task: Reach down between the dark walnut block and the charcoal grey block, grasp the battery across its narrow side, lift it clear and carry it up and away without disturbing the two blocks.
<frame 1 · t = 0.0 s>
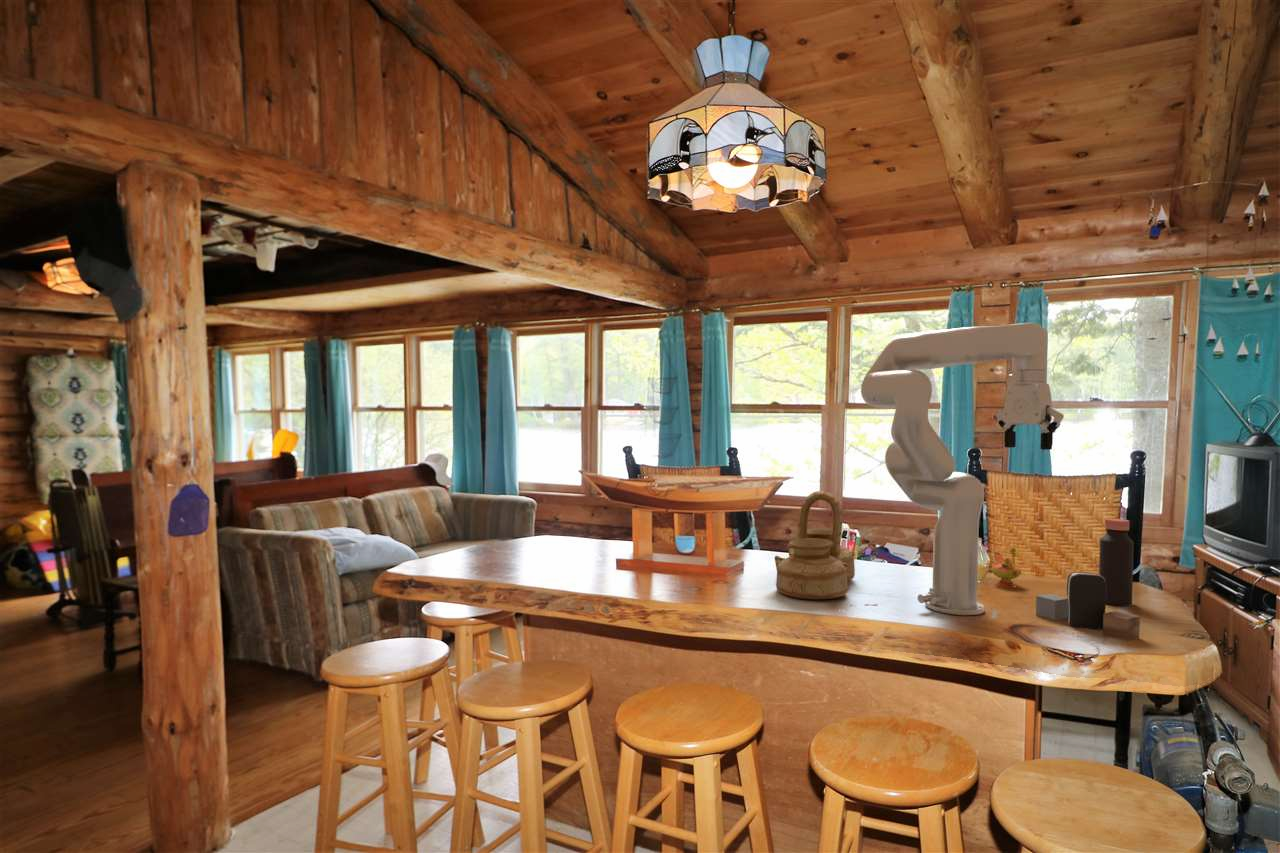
hand: (1027, 448, 176), 37 cm above the worktop, tool pointing down, fingers open, 9 cm apart
grey block: (1051, 617, 161), on the worktop
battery: (1084, 626, 154), on the worktop
bottle: (1115, 603, 173), on the worktop
flower arrangement: (1004, 584, 191), on the worktop
walnut block: (1121, 636, 147), on the worktop
ceramic vessel: (815, 587, 187), on the worktop
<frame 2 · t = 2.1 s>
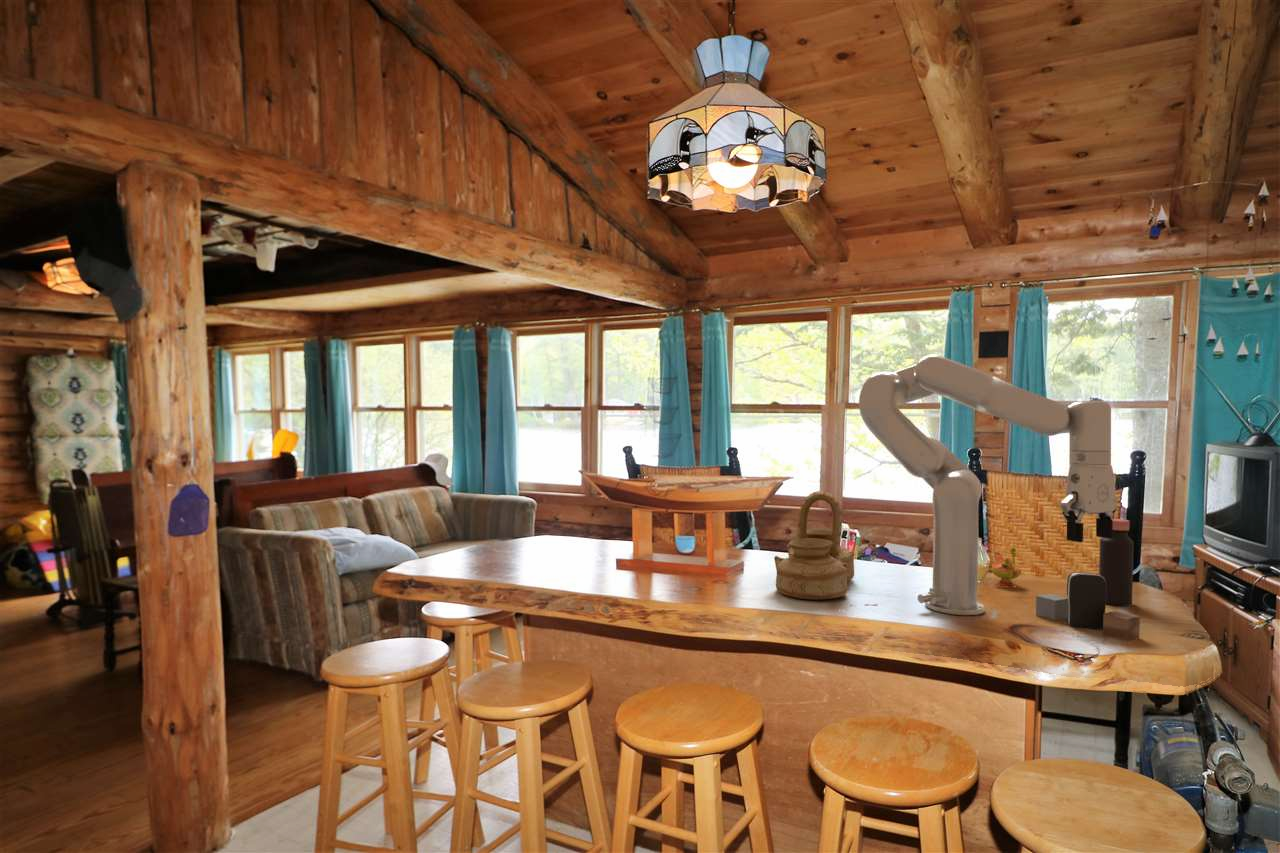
hand: (1089, 539, 153), 19 cm above the worktop, tool pointing down, fingers open, 9 cm apart
nothing on the worktop moved.
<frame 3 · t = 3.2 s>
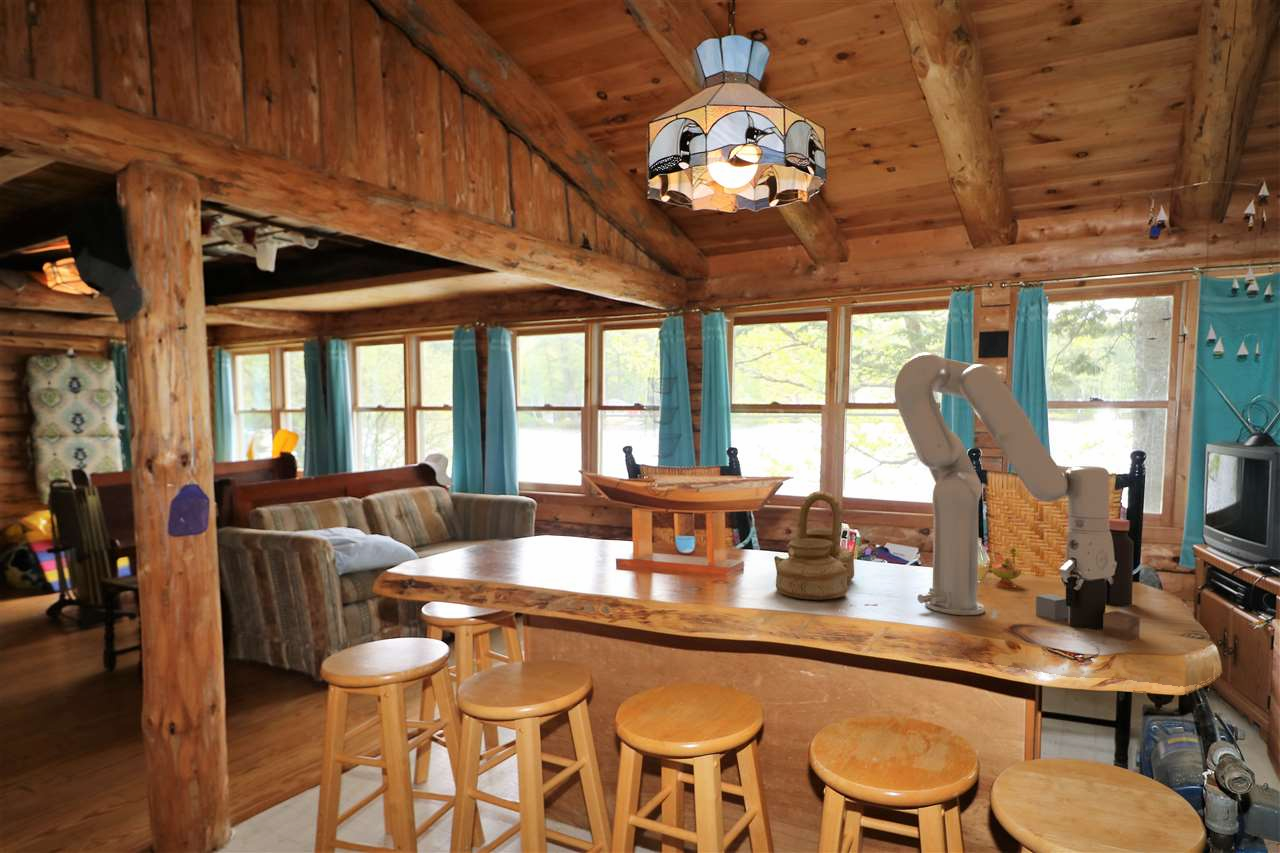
hand: (1088, 604, 154), 5 cm above the worktop, tool pointing down, fingers open, 9 cm apart
nothing on the worktop moved.
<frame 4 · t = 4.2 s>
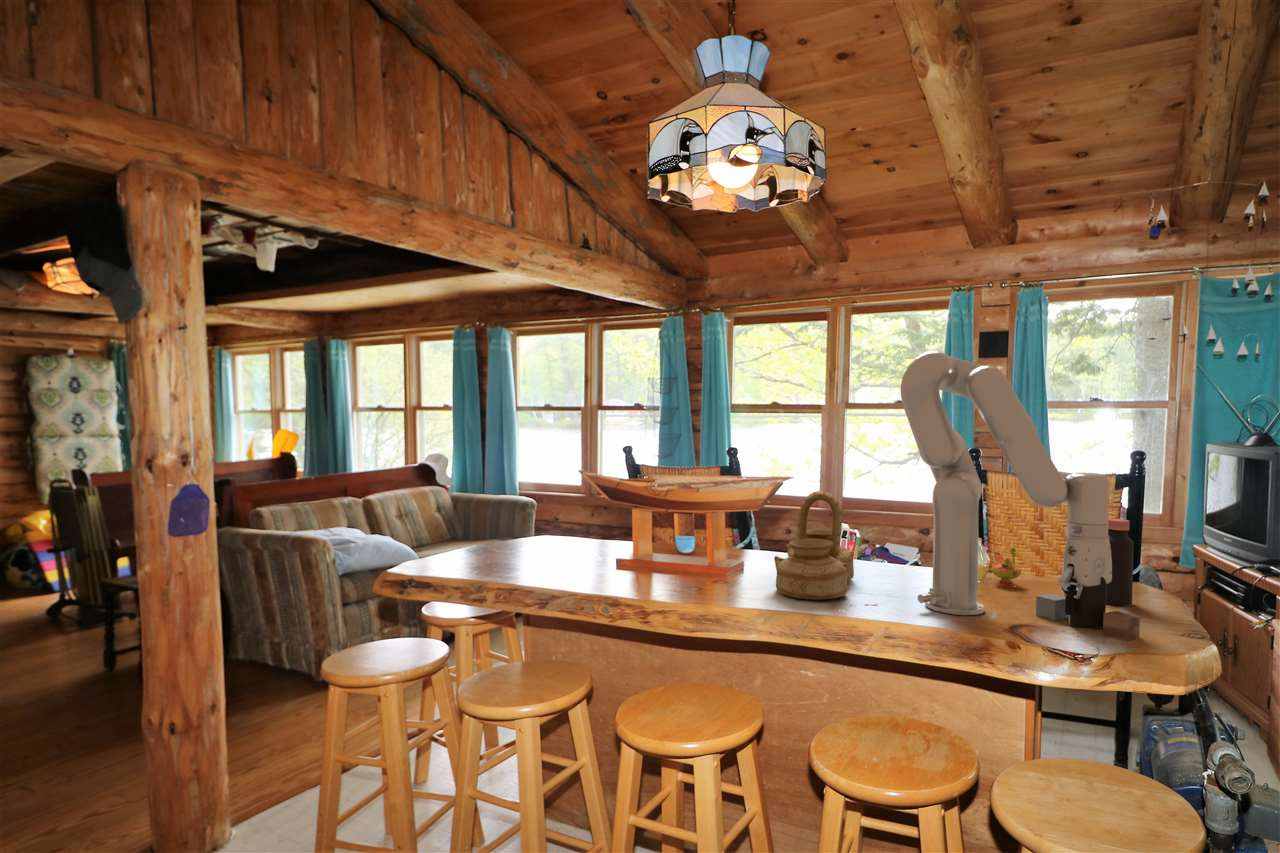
hand: (1084, 613, 154), 3 cm above the worktop, tool pointing down, fingers closed on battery, 6 cm apart
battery: (1085, 626, 154), on the worktop, touching gripper
everything else where it was.
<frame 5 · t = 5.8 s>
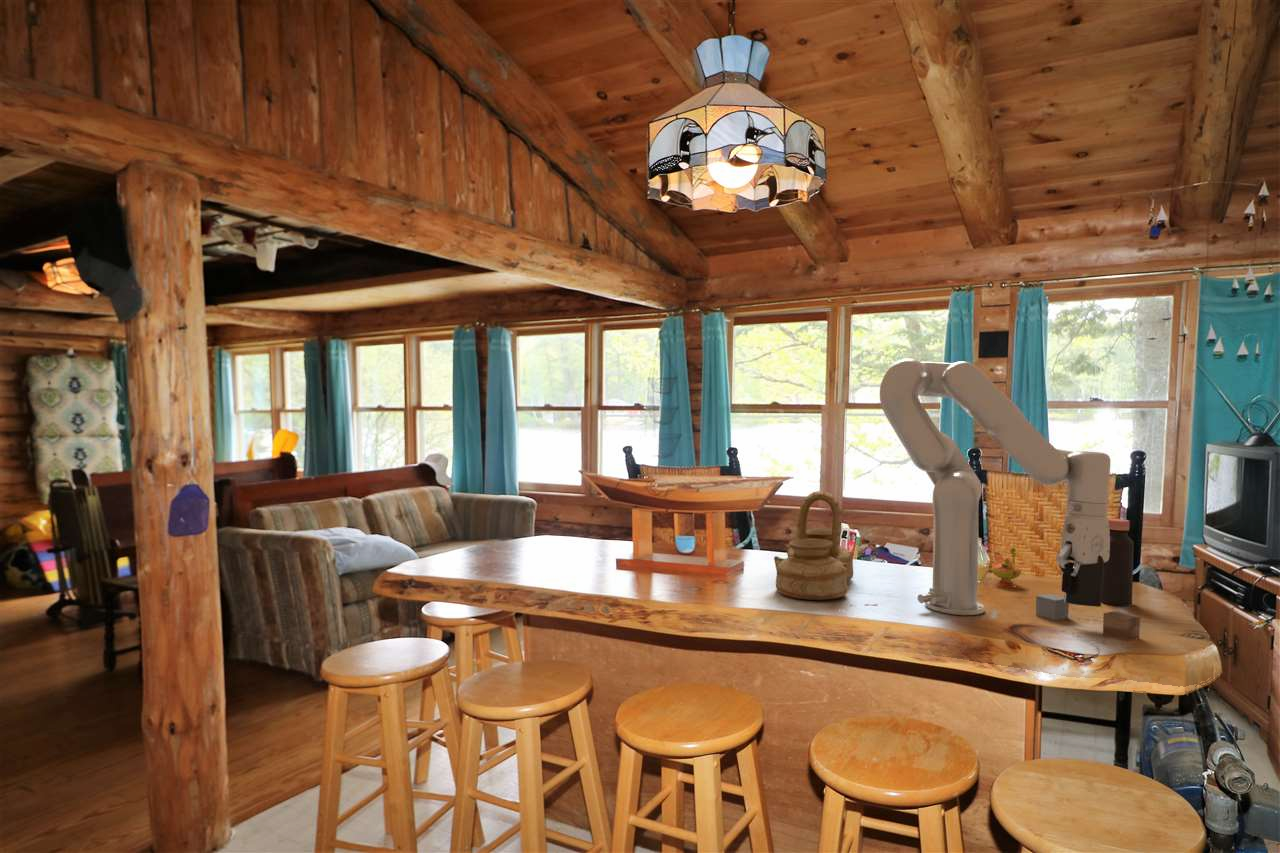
hand: (1081, 591, 154), 7 cm above the worktop, tool pointing down, fingers closed on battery, 6 cm apart
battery: (1081, 604, 154), point 4 cm above the worktop, touching gripper
everything else where it was.
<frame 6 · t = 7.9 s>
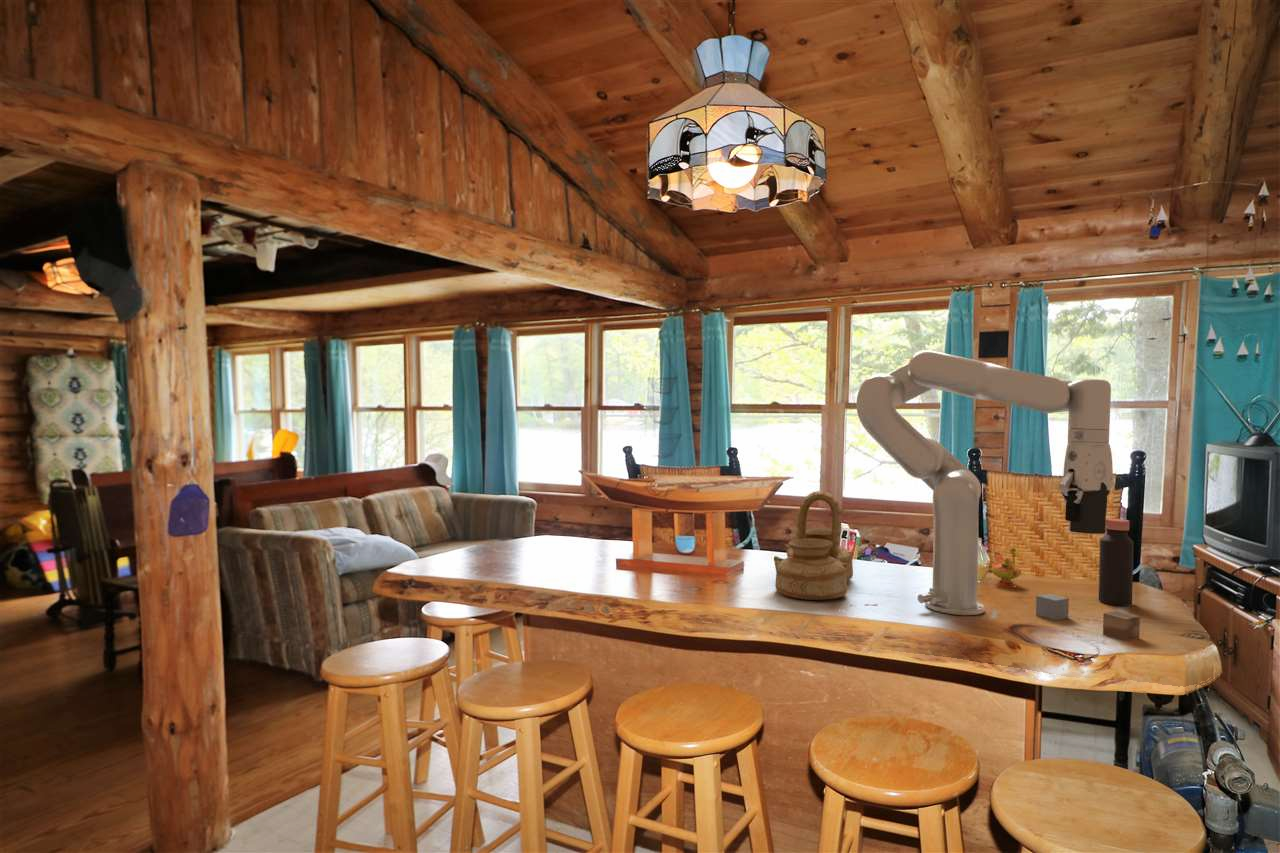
hand: (1085, 519, 154), 23 cm above the worktop, tool pointing down, fingers closed on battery, 6 cm apart
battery: (1085, 533, 154), point 20 cm above the worktop, touching gripper
everything else where it was.
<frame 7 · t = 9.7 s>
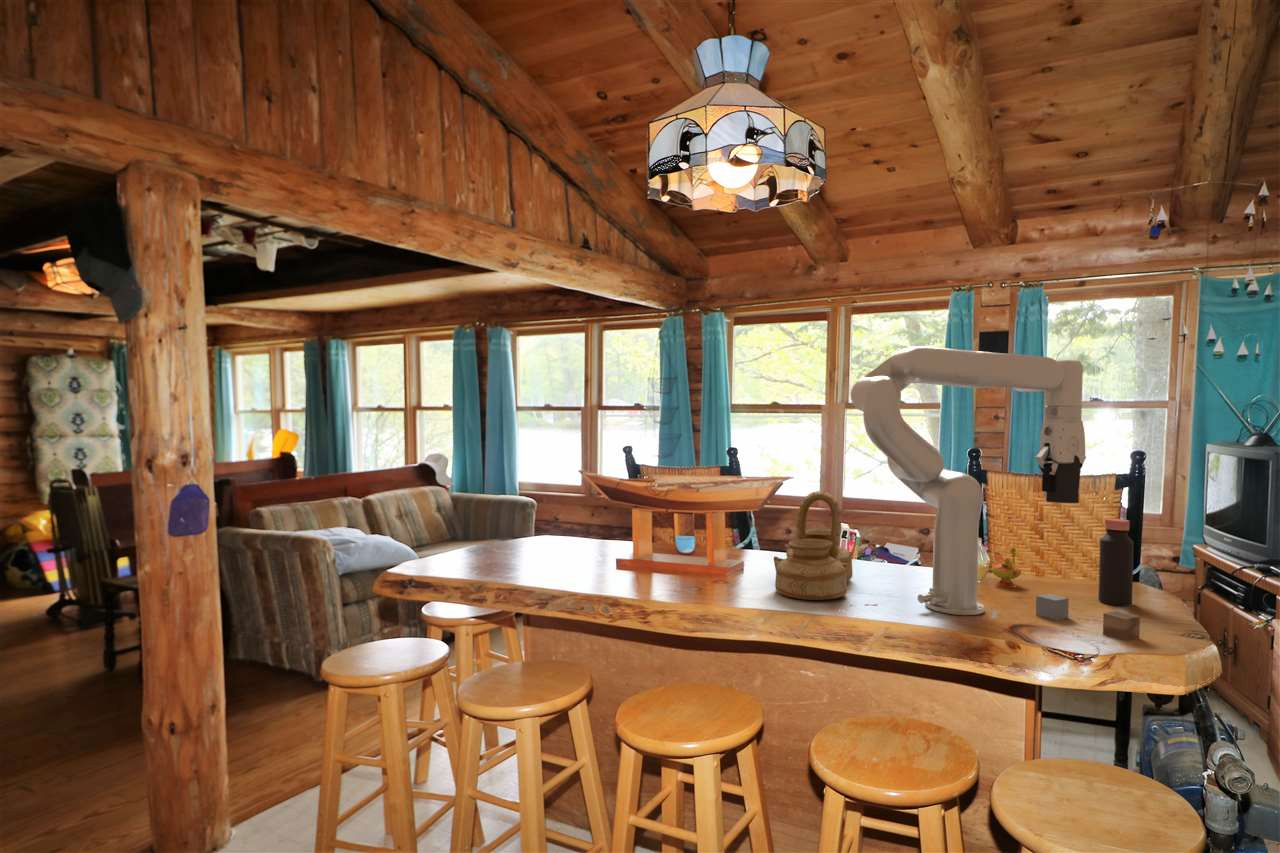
hand: (1060, 490, 166), 28 cm above the worktop, tool pointing down, fingers closed on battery, 6 cm apart
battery: (1060, 503, 166), point 25 cm above the worktop, touching gripper
everything else where it was.
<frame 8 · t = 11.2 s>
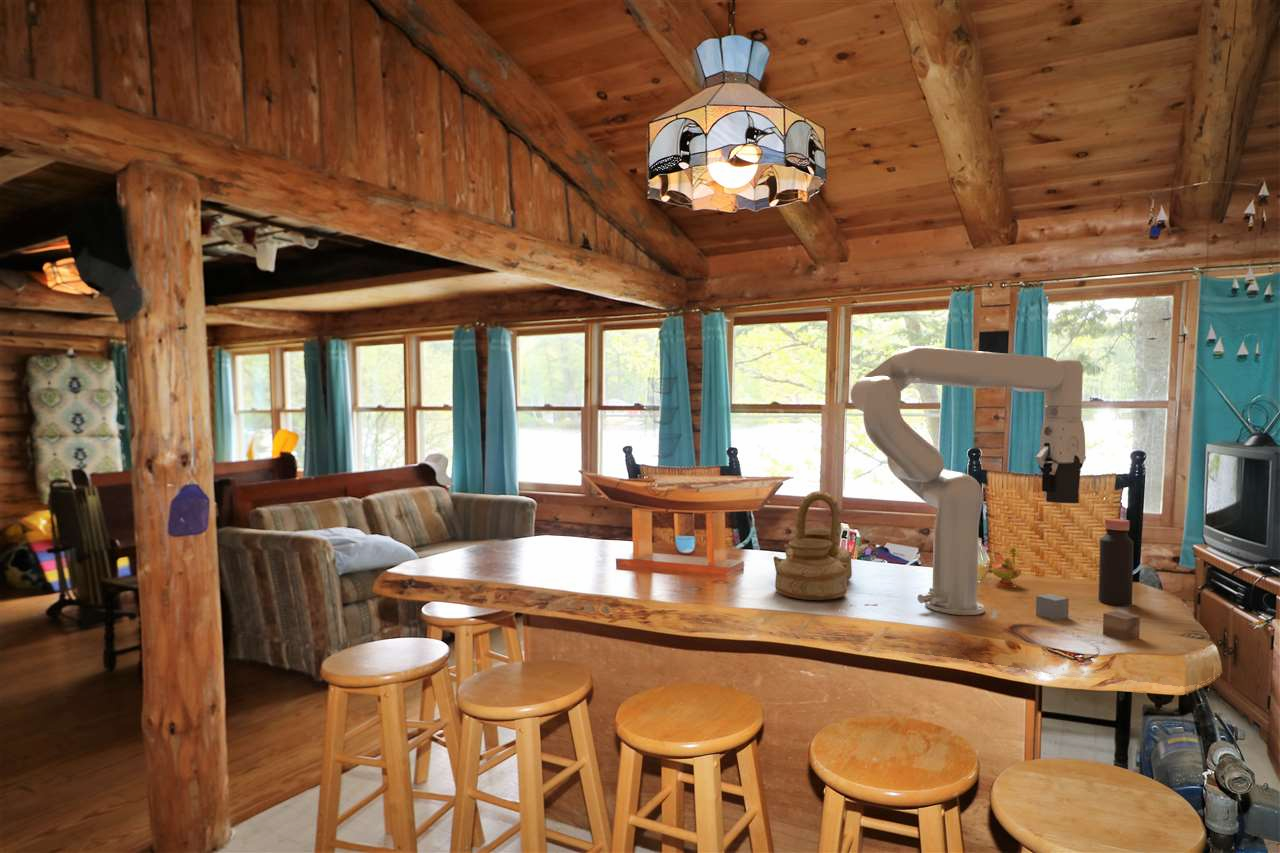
hand: (1060, 490, 166), 28 cm above the worktop, tool pointing down, fingers closed on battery, 6 cm apart
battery: (1060, 503, 166), point 25 cm above the worktop, touching gripper
everything else where it was.
at the end: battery point 24.6 cm above the worktop; the gripper is holding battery; walnut block moved 0.1 cm from its start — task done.
